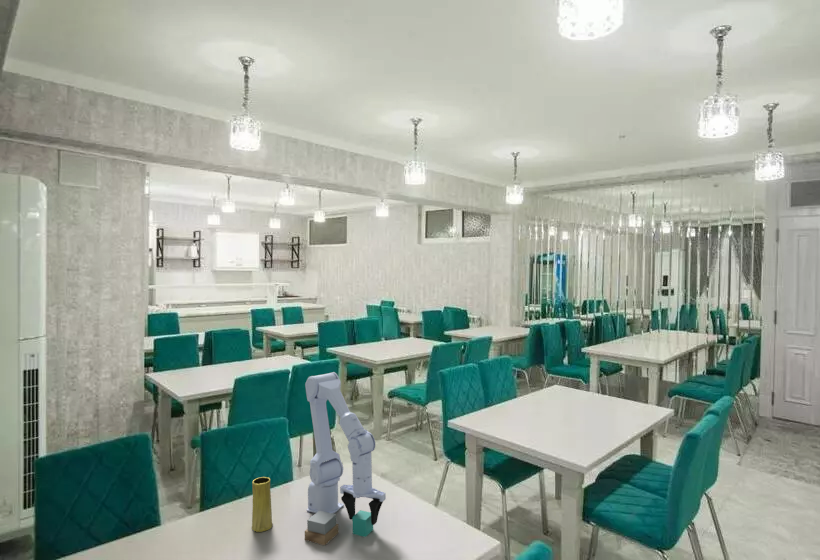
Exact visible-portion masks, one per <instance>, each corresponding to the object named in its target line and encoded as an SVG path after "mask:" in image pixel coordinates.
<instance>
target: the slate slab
mask: <svg viewBox="0 0 820 560" xmlns="http://www.w3.org/2000/svg"><path fill="white" fill-rule="evenodd" d="M306 522H307V525H306V526H307V528H306V529H308V531H312V532H316V533H320V534H324V535H325V534H326V533H327V532H329V531H330V530H331V529H332V528H333V527H334V526H335V525H336V524H337V514H336V513H334V514H333V513H328V512H324V511H318V512H317V513H313V515H312V516H311V517H309V518H308V519H307V521H306Z"/></svg>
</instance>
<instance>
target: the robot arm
mask: <svg viewBox="0 0 820 560" xmlns="http://www.w3.org/2000/svg"><path fill="white" fill-rule="evenodd" d="M304 383H305V384H304V386H305V394H306V399H307V400H306V401H307V402H309V405H310V414H311V420H312V427H313V436H314V442H315V451H316V453H315V455H314V456H313V457H312V458H311V459H310V461H309V465H310V466H309V479H310V480H311V481H310V483H309V485H308V487H307V508H306V511H307V512H311V513H313V514H316V513H317V512H318V511H324V512H328V513H333V514H336V513H337V512H338V511H339V510H341V508H343V507H344V506H345V508H346V512H347V514H348V518H349V520H351V521H352V517H353V516H354V515H355V514H356V499H360V498H367V499H371V501H370V502H369V503H368V506H369V510H370V511H369V512H371V523H372V525H373V526H375V525H376V524H377V522H378V518H379V513H380V510H381V508H382V505H383V503H384V501H385V500H387V499H386V492H385V491H384V492H383V491H381V490H378V489H377V488H374V487H373V471H372V470H373V466H372V465H373V464H372V463H373V462H372V452H374V450H375V449H376V440H375V437H374V435H373V434H372V432H370V431H368V430H367V429H365V428H364V427H363V424H362V423H361V421H360V419H359V418H358V416H357V414H356V413H355V412H352V411H350V409H349V407H348V404H347V401H346V400H345V398H344V396H343V395H344V394H343V393H342V391H341V387H342V382H341V379H340V377H339V375H338V373H336V372H335V371H333V372H329V373H324V374H318V375H311V376H310V375H309V376H308V377H307V379H306V382H304ZM327 401H328V402H329V404H330V405H331V406H332V408H333V409H334V411H335V412H336V414H337V415H338V417H339V422H338V424H339V426H340V428H341V429H342V433H344V435H345V438H346V439H347V441H348V444H347V449H348V451H349V458H350V461H351V462H352V466H351V467H352V484H343V485H341V486H340V488H339V481H340V480H341V477H342V476H343V475H344V474H343V473H344V466H343V465H344V464H343V462H342V461H341V460H342V459H341V456H340V454H339V453H338V452H336V451H335V450H333V444H332V437H331V436H332V435H331V429H330V421H329V416H328V409H327ZM339 489H340V490H339ZM339 493H340V494H342V496H341V501H342V503H340V502H339Z"/></svg>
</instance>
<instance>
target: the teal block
mask: <svg viewBox="0 0 820 560" xmlns="http://www.w3.org/2000/svg"><path fill="white" fill-rule="evenodd" d="M351 521H352V534H353V535H356V536H360V537H363V538H367V537H368V536H369V535H370V534H371V532H372V531H374V525H372V523H371V511H366V510H362V509H361V510H358V512H355V515H354V516H353V517H352V520H351Z"/></svg>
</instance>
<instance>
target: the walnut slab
mask: <svg viewBox="0 0 820 560" xmlns="http://www.w3.org/2000/svg"><path fill="white" fill-rule="evenodd" d="M339 527H340V526H339V523H336V525H335V526H334V527H333V528H332V529H331V530H330V531H329V532H327V533H326V534H325V535H324V534H320V533H316V532H312V531H308V529H307V528H306V529H305V530H304V540H305V541H308V542H310V541H311V543H315V544H317V543H318V544H319V545H322V546H326V545H328V543H330V541H332V540H333V539H334V538H335V537H336V536H338V534H339V532H340V531H339Z"/></svg>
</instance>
